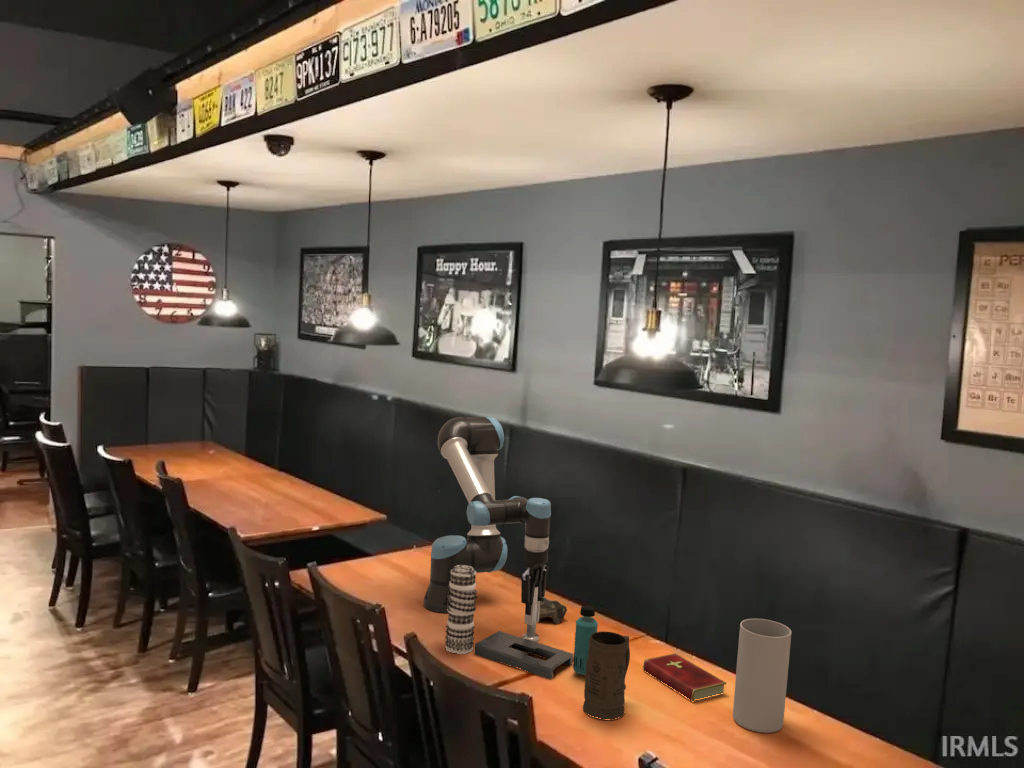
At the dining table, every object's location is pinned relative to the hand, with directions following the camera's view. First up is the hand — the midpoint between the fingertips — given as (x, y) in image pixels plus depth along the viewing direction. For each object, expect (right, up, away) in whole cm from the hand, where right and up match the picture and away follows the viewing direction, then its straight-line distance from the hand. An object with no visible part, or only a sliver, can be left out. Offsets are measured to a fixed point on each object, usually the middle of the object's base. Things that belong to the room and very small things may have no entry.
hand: (531, 622), depth 255 cm
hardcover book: (+42, -11, -24) cm, 50 cm away
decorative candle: (-22, -5, -9) cm, 25 cm away
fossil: (+7, -5, +19) cm, 21 cm away
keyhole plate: (-3, -7, -14) cm, 16 cm away
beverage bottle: (+14, -9, -23) cm, 28 cm away
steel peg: (0, -6, 0) cm, 6 cm away
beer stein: (+19, -10, -41) cm, 47 cm away
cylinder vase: (+57, -13, -45) cm, 74 cm away
